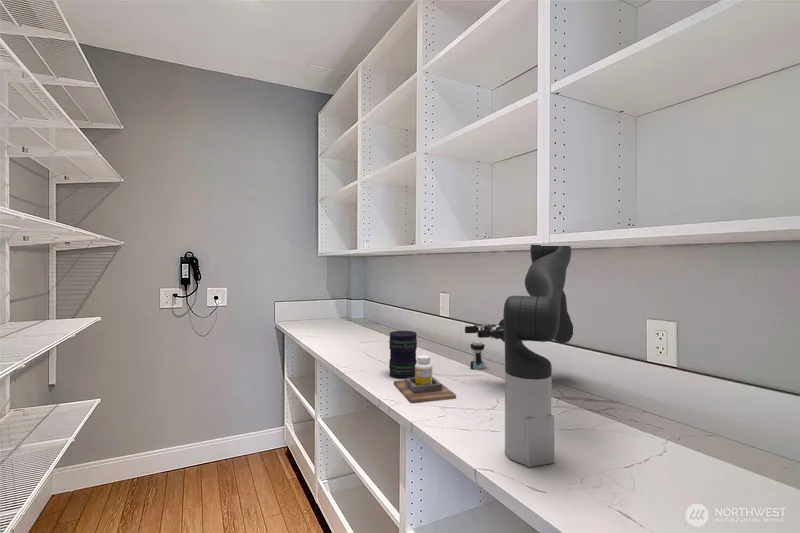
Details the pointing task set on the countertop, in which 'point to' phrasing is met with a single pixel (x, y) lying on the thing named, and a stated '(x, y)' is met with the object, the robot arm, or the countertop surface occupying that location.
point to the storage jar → (402, 354)
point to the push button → (477, 355)
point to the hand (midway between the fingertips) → (471, 331)
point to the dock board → (423, 391)
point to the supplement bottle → (423, 371)
